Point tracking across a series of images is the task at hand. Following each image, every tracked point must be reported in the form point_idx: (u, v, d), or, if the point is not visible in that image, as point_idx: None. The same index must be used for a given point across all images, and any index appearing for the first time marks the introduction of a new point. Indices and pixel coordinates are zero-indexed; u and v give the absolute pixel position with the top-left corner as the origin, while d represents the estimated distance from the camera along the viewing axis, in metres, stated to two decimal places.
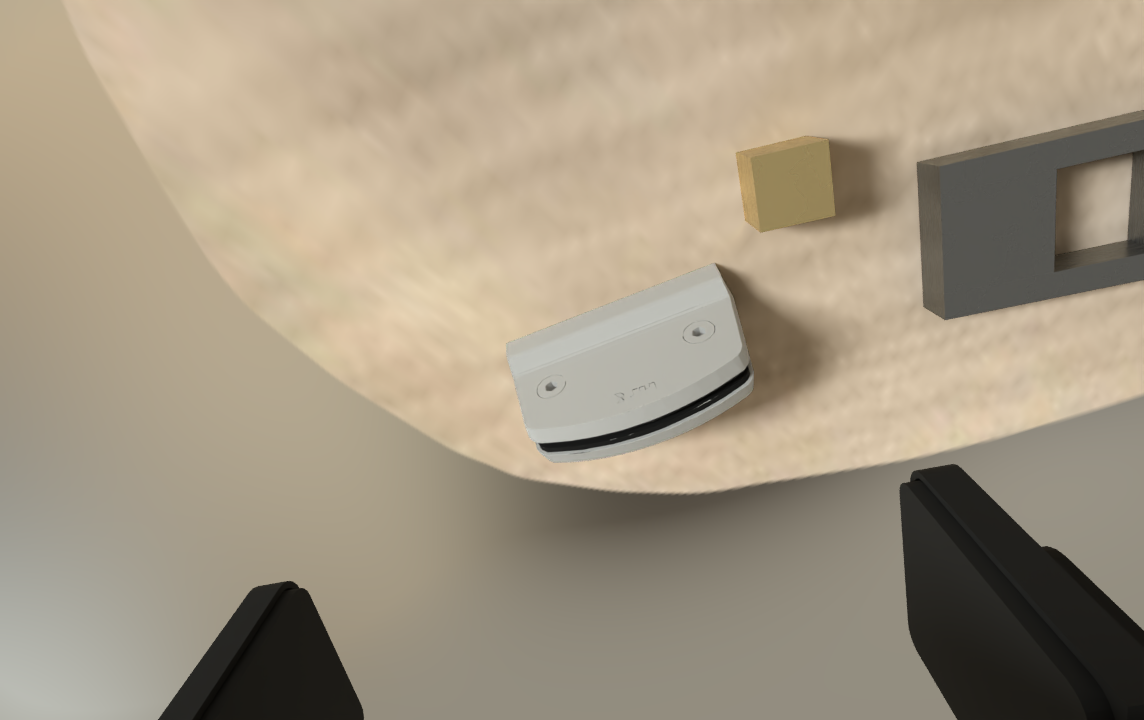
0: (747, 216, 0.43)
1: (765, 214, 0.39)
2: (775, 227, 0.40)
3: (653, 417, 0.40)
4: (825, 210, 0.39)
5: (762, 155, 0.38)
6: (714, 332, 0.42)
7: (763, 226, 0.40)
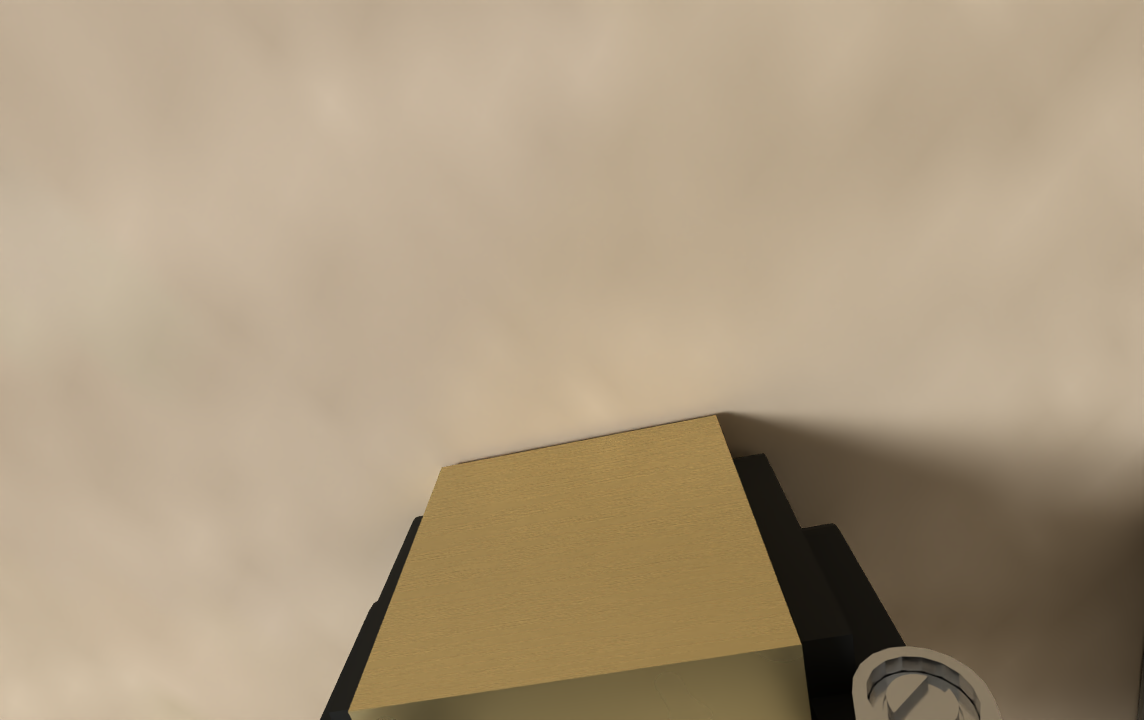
0: None
1: None
2: None
3: None
4: None
5: (416, 700, 0.07)
6: None
7: None
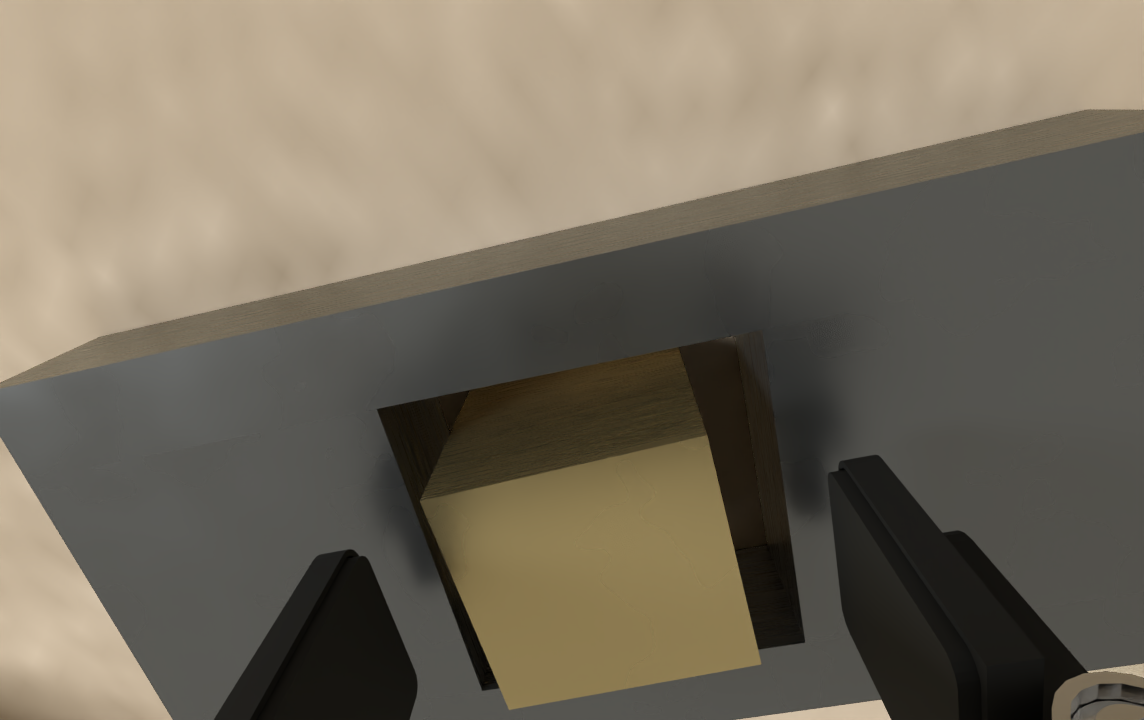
0: None
1: (513, 664, 0.11)
2: (556, 697, 0.11)
3: None
4: (723, 650, 0.11)
5: (463, 491, 0.10)
6: None
7: (515, 694, 0.11)
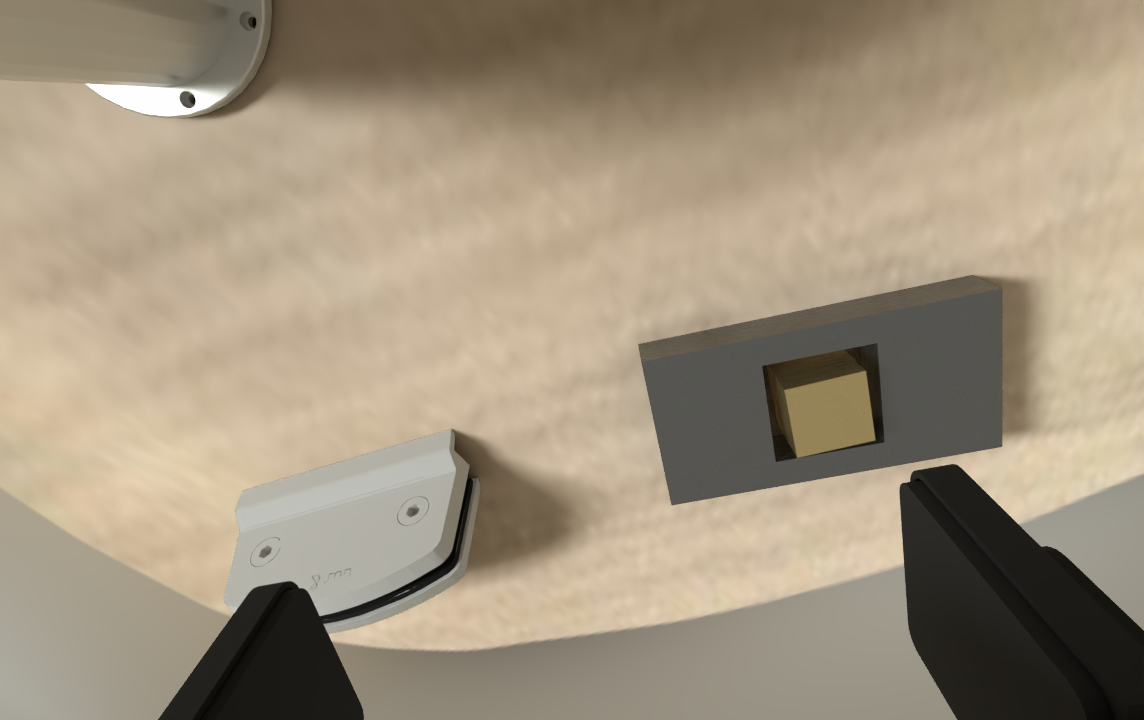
0: (780, 424, 0.41)
1: (801, 441, 0.38)
2: (812, 452, 0.38)
3: (342, 608, 0.38)
4: (864, 435, 0.38)
5: (796, 387, 0.37)
6: (427, 513, 0.40)
7: (800, 452, 0.38)
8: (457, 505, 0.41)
